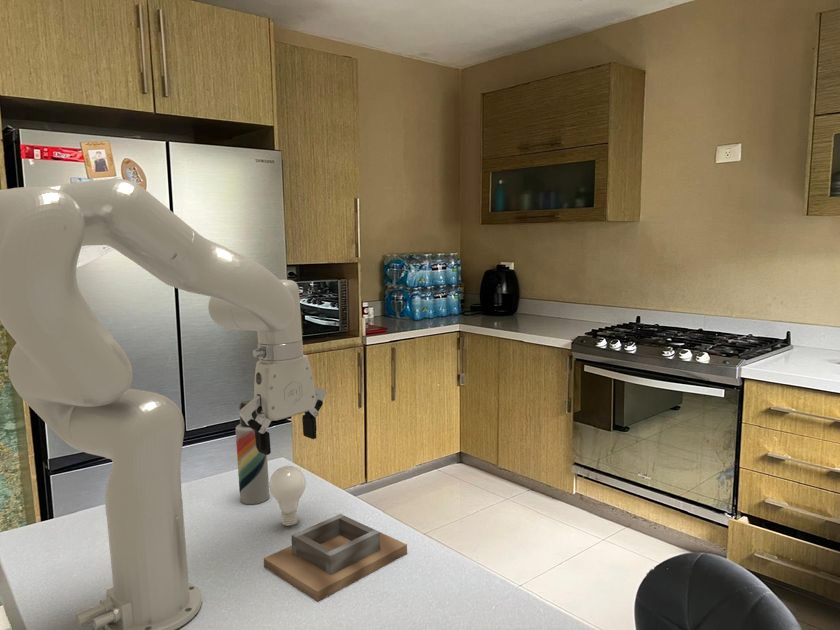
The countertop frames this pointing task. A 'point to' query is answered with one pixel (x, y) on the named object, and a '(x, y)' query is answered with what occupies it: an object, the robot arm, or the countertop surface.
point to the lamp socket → (333, 556)
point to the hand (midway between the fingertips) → (287, 444)
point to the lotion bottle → (251, 464)
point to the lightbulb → (287, 491)
